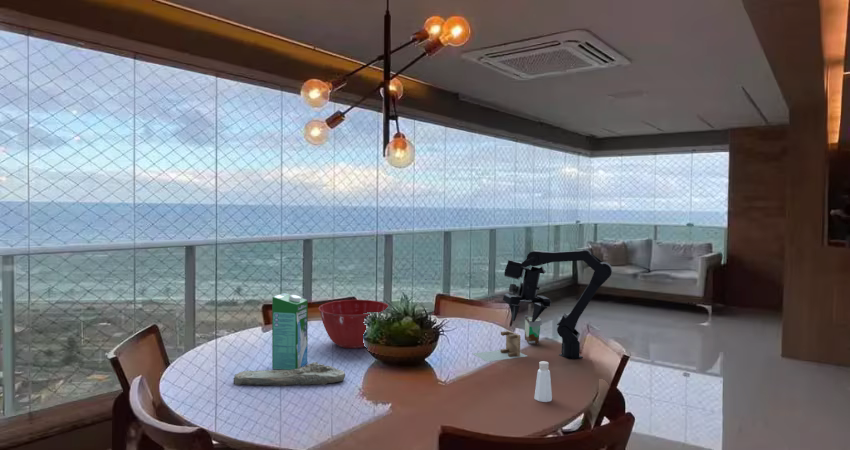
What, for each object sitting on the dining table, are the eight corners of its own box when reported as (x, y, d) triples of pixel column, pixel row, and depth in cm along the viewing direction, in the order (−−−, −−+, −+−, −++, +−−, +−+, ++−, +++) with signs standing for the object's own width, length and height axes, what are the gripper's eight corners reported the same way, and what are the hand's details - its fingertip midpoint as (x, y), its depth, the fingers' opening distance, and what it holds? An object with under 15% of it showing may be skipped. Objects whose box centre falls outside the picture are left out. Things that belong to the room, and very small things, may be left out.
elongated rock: (238, 381, 175) (230, 394, 165) (237, 365, 174) (229, 377, 165) (346, 374, 178) (344, 386, 168) (345, 358, 177) (343, 369, 167)
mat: (528, 357, 201) (528, 356, 201) (486, 362, 193) (486, 361, 193) (511, 349, 211) (511, 348, 211) (471, 354, 203) (471, 353, 203)
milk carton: (296, 370, 182) (296, 297, 180) (272, 368, 183) (272, 296, 182) (307, 362, 190) (307, 293, 189) (284, 361, 192) (284, 292, 191)
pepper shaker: (539, 394, 162) (539, 358, 162) (555, 398, 159) (556, 361, 158) (530, 399, 158) (531, 362, 158) (547, 403, 155) (548, 366, 154)
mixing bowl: (384, 355, 201) (384, 314, 201) (309, 352, 203) (309, 312, 202) (393, 336, 229) (393, 300, 229) (327, 334, 231) (328, 298, 231)
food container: (544, 346, 216) (544, 321, 216) (529, 346, 217) (529, 321, 216) (538, 338, 229) (539, 315, 228) (524, 338, 229) (524, 315, 228)
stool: (520, 356, 201) (520, 335, 200) (511, 357, 199) (511, 336, 199) (508, 350, 208) (508, 330, 208) (499, 351, 206) (499, 331, 206)
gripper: (538, 278, 217) (531, 315, 219) (499, 275, 210) (492, 313, 211) (555, 286, 207) (547, 324, 209) (514, 282, 199) (507, 323, 201)
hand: (523, 321), depth 208 cm, fingers open, 9 cm apart
